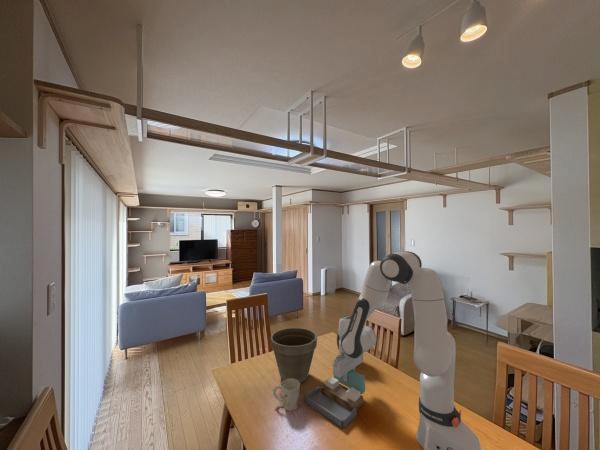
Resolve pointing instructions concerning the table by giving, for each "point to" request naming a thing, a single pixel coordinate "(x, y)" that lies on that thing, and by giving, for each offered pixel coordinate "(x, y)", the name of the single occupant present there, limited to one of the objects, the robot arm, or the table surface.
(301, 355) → the plant pot
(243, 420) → the table surface
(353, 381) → the teal rectangular block
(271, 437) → the table surface
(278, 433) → the table surface
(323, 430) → the table surface
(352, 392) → the tile
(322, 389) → the board
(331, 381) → the tile
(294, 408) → the mug
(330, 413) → the tray
